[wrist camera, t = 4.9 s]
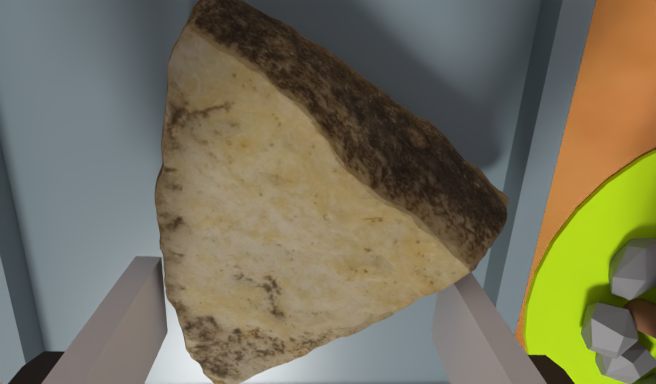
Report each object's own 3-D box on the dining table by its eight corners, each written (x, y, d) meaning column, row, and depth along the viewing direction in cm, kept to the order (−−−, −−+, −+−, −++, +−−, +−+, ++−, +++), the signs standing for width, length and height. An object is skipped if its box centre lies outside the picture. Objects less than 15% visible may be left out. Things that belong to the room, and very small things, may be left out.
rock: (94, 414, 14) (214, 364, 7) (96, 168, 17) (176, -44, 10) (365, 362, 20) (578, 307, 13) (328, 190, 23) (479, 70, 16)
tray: (39, 419, 19) (18, 451, 17) (-85, -110, 12) (-134, -127, 11) (475, 411, 20) (489, 439, 19) (580, -60, 14) (612, -69, 12)
